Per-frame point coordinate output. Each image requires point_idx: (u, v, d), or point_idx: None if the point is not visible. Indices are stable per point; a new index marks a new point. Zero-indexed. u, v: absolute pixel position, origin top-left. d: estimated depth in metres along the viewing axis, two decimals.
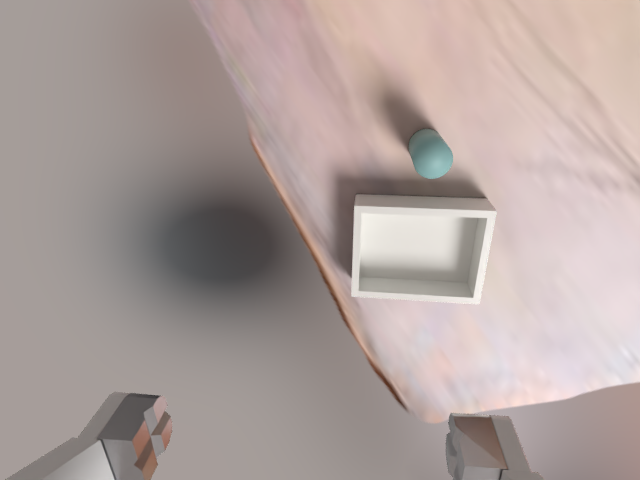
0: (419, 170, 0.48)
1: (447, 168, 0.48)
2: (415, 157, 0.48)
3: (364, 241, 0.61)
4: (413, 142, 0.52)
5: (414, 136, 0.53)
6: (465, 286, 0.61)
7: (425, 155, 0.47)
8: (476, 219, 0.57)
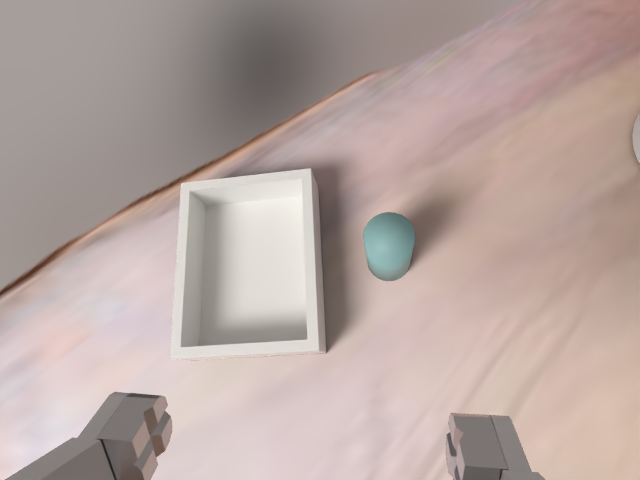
0: (373, 222, 0.36)
1: (380, 256, 0.35)
2: (389, 214, 0.36)
3: (256, 204, 0.46)
4: None
5: None
6: (194, 344, 0.41)
7: (394, 225, 0.36)
8: None
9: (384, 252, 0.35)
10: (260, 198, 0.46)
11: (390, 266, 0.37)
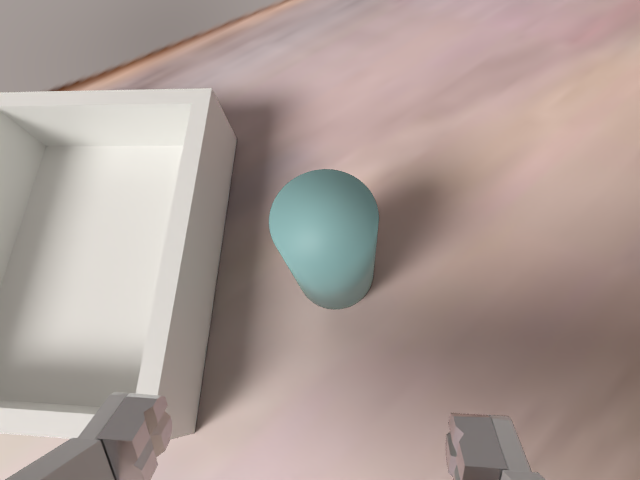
0: (295, 185, 0.17)
1: (297, 258, 0.16)
2: (332, 173, 0.17)
3: (127, 152, 0.27)
4: None
5: None
6: None
7: (337, 197, 0.17)
8: None
9: (307, 251, 0.16)
10: (134, 141, 0.27)
11: (322, 283, 0.18)
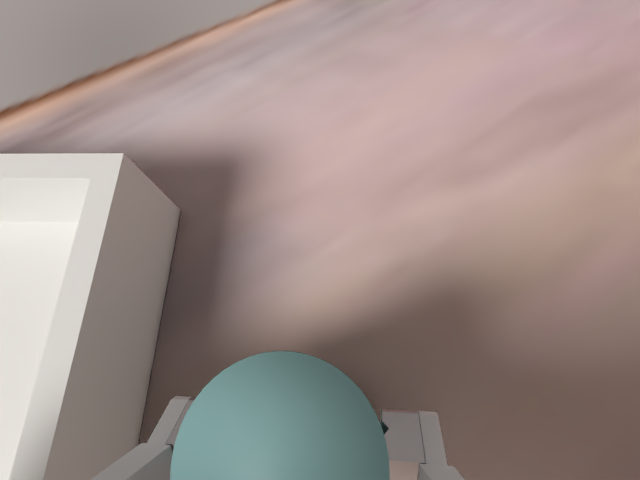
0: (226, 385, 0.09)
1: None
2: (298, 360, 0.09)
3: (22, 231, 0.19)
4: None
5: None
6: None
7: (306, 416, 0.08)
8: None
9: None
10: (29, 217, 0.19)
11: None
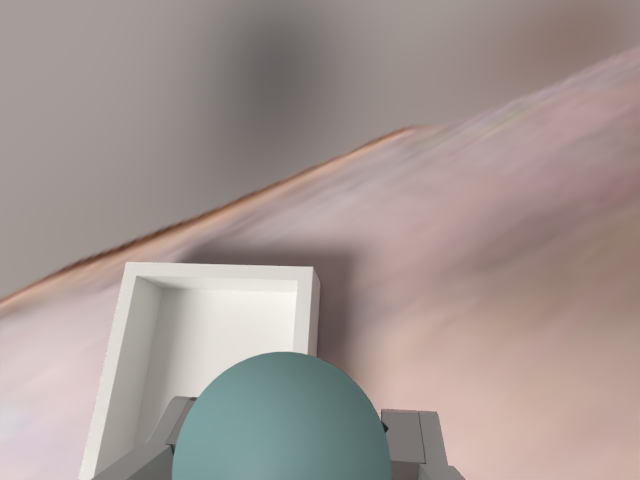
0: (227, 386, 0.09)
1: None
2: (299, 360, 0.09)
3: (232, 296, 0.33)
4: None
5: None
6: None
7: (308, 417, 0.08)
8: None
9: None
10: (238, 289, 0.33)
11: None
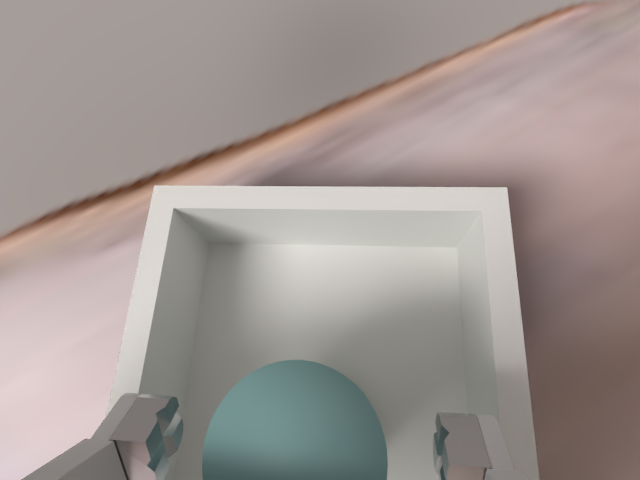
0: (248, 389, 0.10)
1: None
2: (309, 367, 0.10)
3: (328, 254, 0.20)
4: None
5: None
6: None
7: (317, 416, 0.10)
8: None
9: None
10: (341, 242, 0.19)
11: None
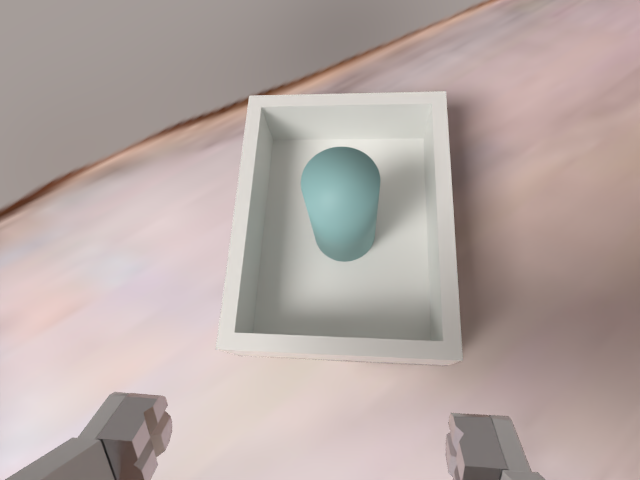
0: (318, 158, 0.23)
1: (322, 209, 0.22)
2: (345, 149, 0.23)
3: (346, 144, 0.33)
4: None
5: None
6: (248, 331, 0.27)
7: (350, 166, 0.23)
8: None
9: (329, 204, 0.22)
10: (354, 135, 0.33)
11: (339, 230, 0.24)
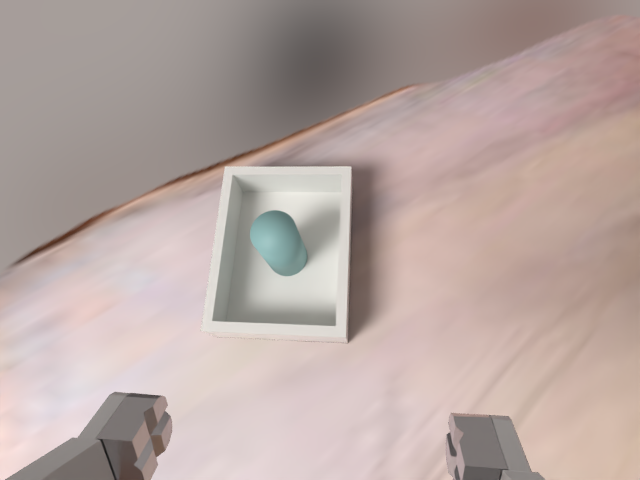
0: (261, 217, 0.39)
1: (261, 249, 0.38)
2: (277, 211, 0.39)
3: (292, 195, 0.48)
4: None
5: None
6: (222, 321, 0.43)
7: (279, 222, 0.39)
8: None
9: (266, 246, 0.38)
10: (296, 190, 0.48)
11: (274, 260, 0.40)
